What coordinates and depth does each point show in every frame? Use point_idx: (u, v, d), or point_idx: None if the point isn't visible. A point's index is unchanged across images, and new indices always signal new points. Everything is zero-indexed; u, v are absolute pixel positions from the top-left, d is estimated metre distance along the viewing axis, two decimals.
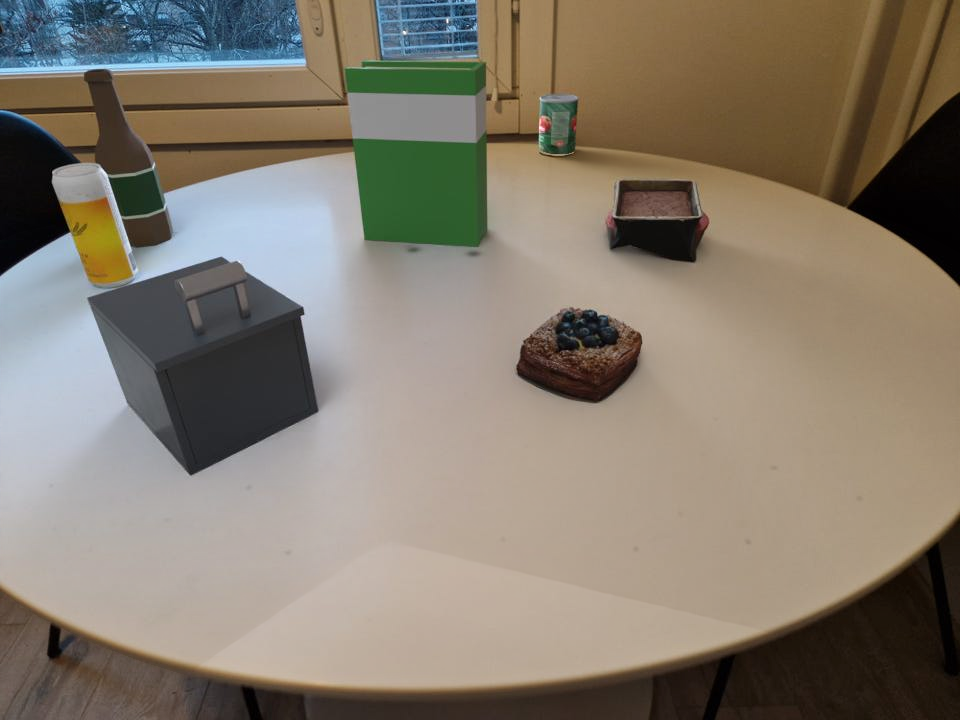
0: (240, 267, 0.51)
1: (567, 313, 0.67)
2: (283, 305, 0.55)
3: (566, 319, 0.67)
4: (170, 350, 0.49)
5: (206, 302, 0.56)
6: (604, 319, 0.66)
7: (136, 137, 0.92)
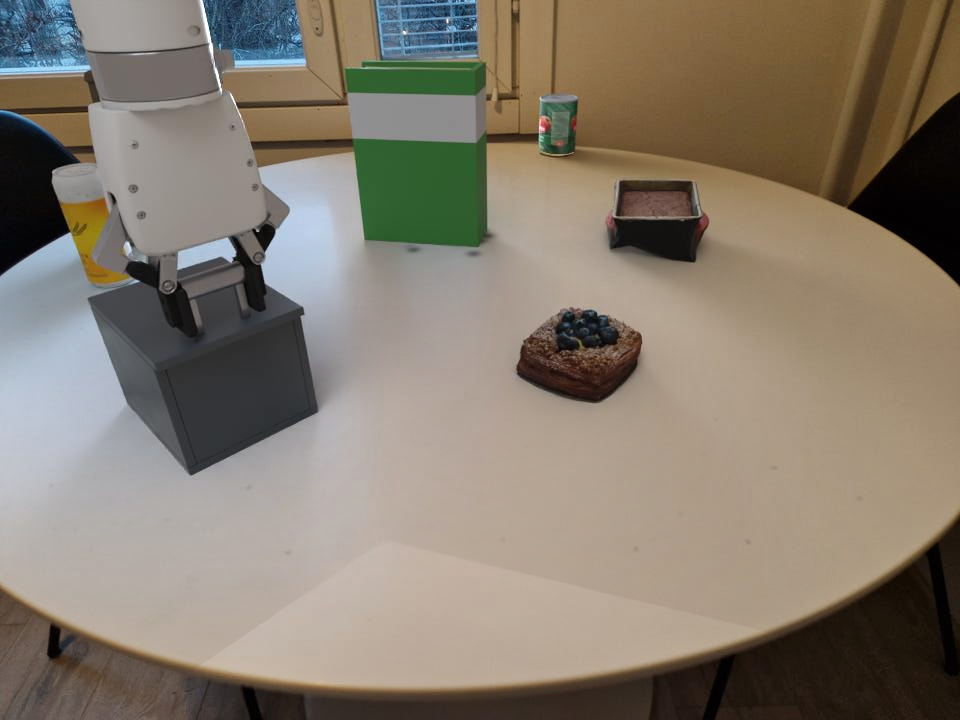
0: (240, 267, 0.51)
1: (567, 313, 0.67)
2: (283, 305, 0.55)
3: (566, 319, 0.67)
4: (170, 350, 0.49)
5: (206, 302, 0.56)
6: (604, 319, 0.66)
7: None
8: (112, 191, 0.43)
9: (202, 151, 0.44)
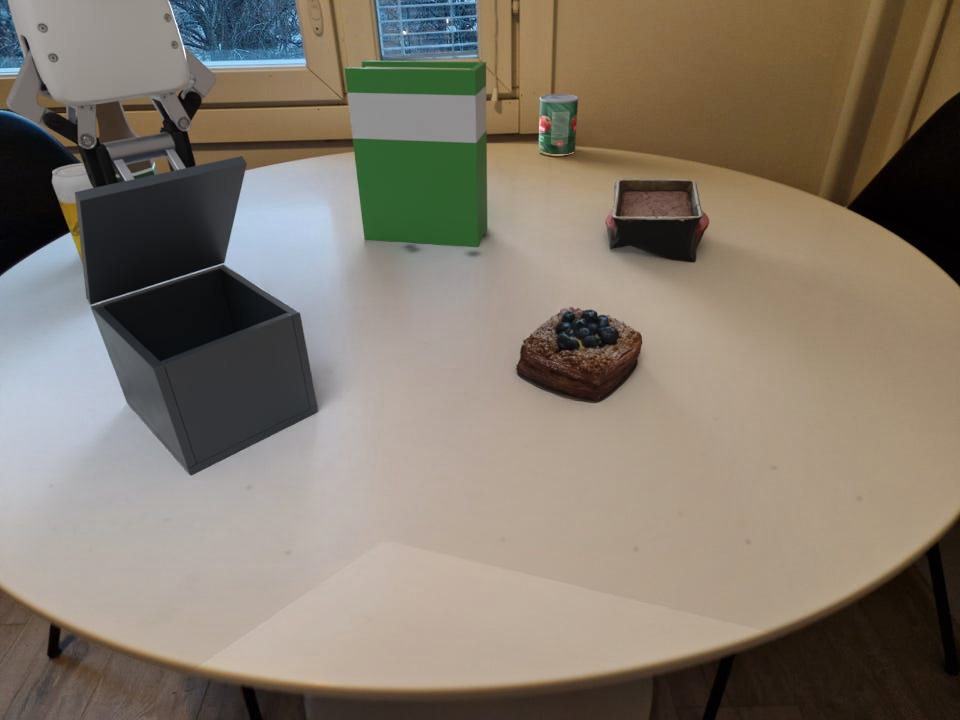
0: (164, 132, 0.52)
1: (567, 313, 0.67)
2: None
3: (566, 319, 0.67)
4: None
5: None
6: (604, 319, 0.66)
7: None
8: (23, 33, 0.43)
9: None
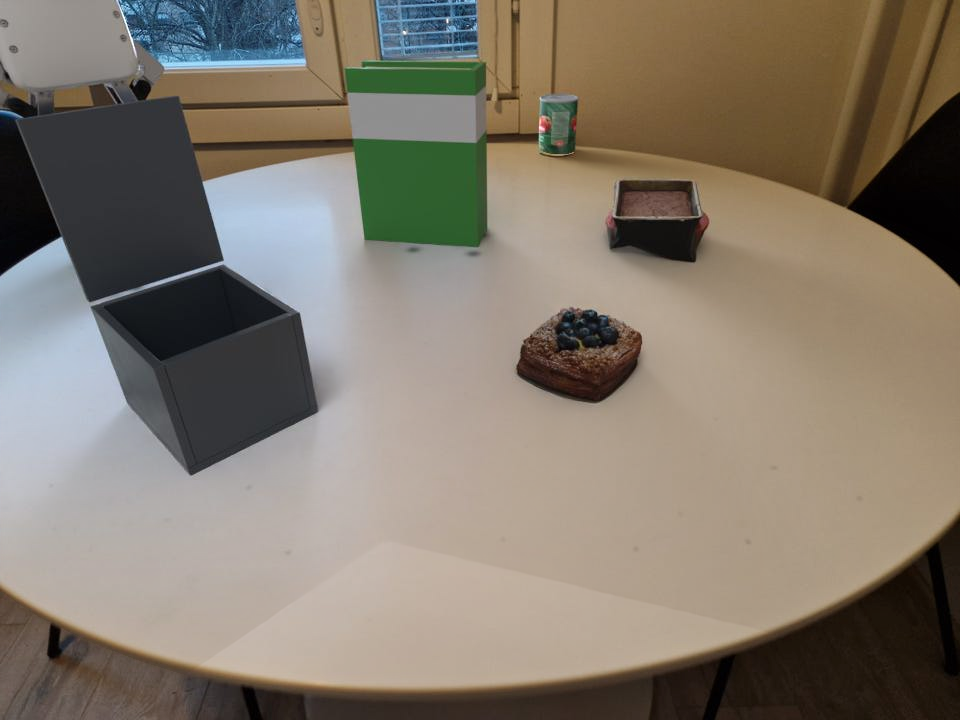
0: None
1: (567, 313, 0.67)
2: None
3: (566, 319, 0.67)
4: None
5: None
6: (604, 319, 0.66)
7: None
8: None
9: None
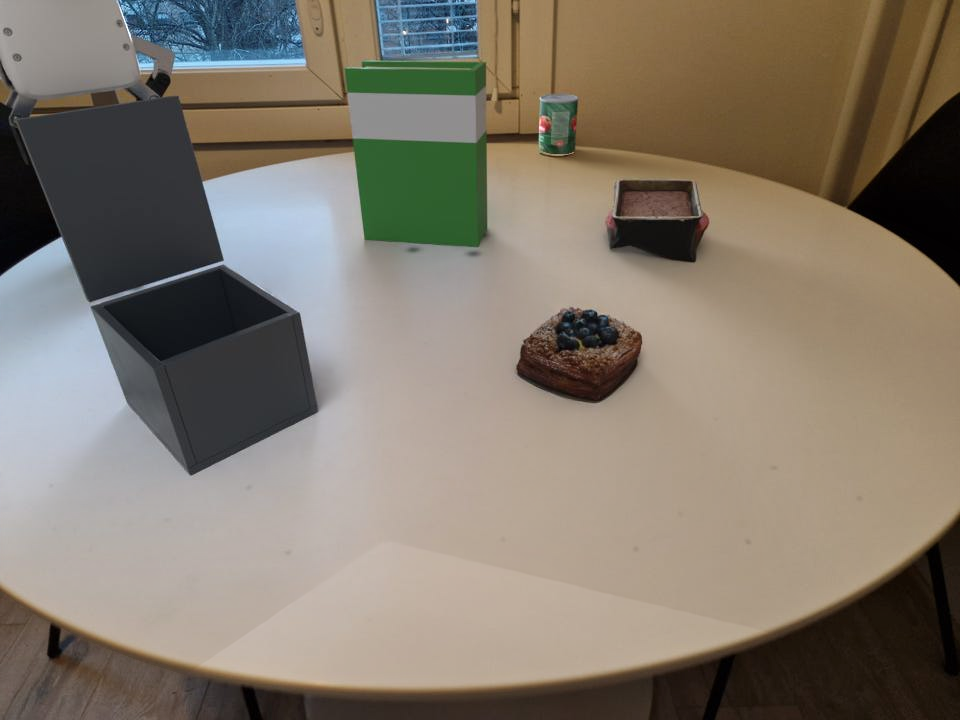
0: None
1: (567, 313, 0.67)
2: None
3: (566, 319, 0.67)
4: None
5: None
6: (604, 319, 0.66)
7: None
8: None
9: (71, 5, 0.52)
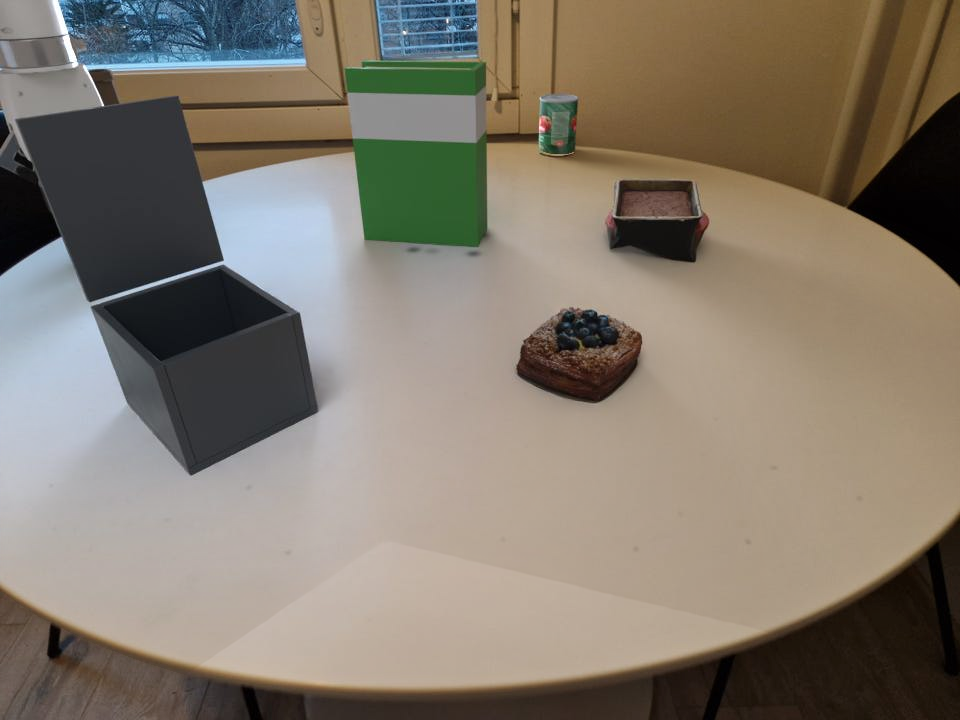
0: None
1: (567, 313, 0.67)
2: None
3: (566, 319, 0.67)
4: None
5: None
6: (604, 319, 0.66)
7: None
8: (10, 122, 0.73)
9: (65, 99, 0.74)
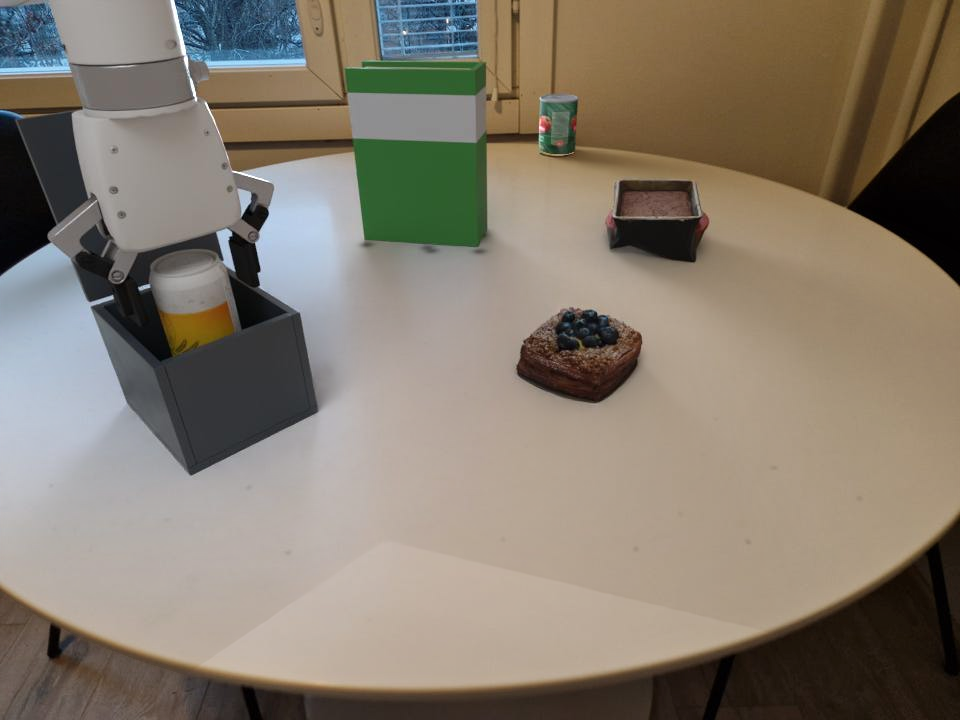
0: None
1: (567, 313, 0.67)
2: None
3: (566, 319, 0.67)
4: None
5: None
6: (604, 319, 0.66)
7: None
8: (94, 192, 0.46)
9: (178, 155, 0.47)
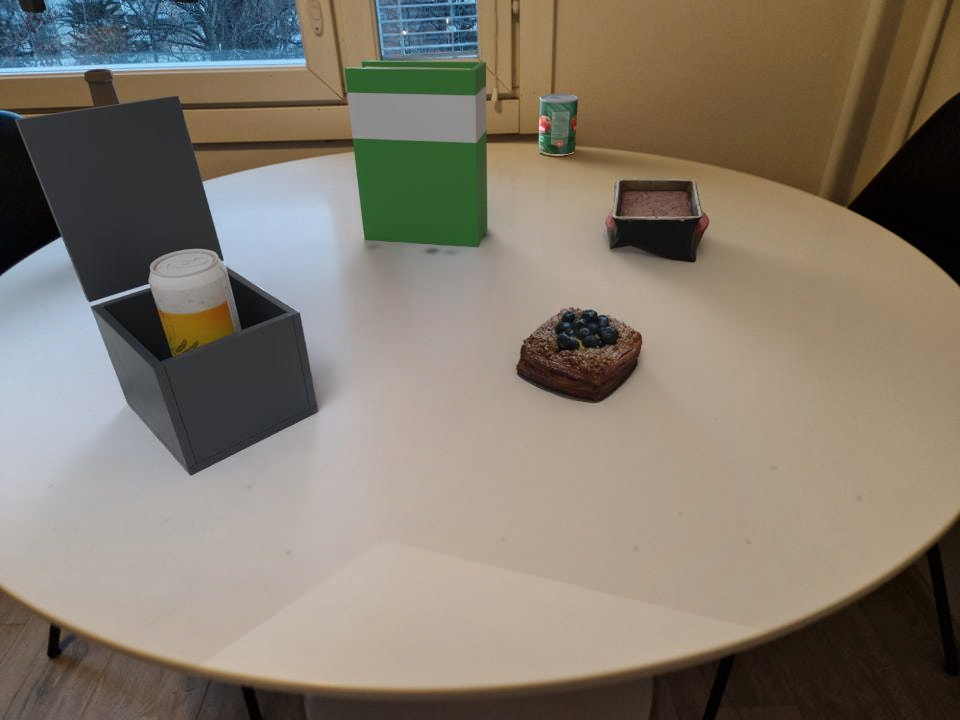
0: None
1: (567, 313, 0.67)
2: None
3: (566, 319, 0.67)
4: None
5: None
6: (604, 319, 0.66)
7: None
8: None
9: None
